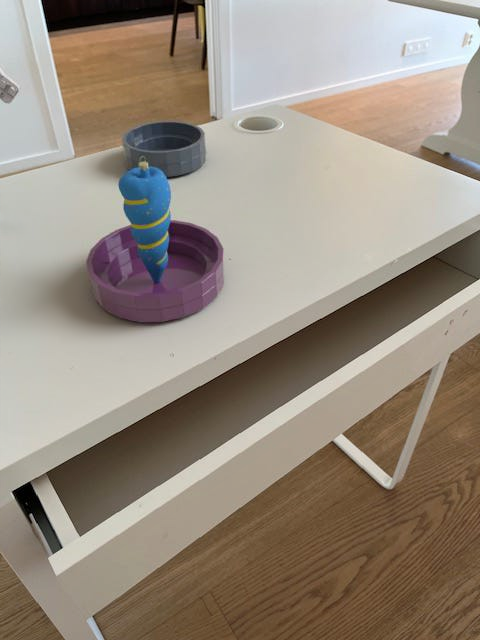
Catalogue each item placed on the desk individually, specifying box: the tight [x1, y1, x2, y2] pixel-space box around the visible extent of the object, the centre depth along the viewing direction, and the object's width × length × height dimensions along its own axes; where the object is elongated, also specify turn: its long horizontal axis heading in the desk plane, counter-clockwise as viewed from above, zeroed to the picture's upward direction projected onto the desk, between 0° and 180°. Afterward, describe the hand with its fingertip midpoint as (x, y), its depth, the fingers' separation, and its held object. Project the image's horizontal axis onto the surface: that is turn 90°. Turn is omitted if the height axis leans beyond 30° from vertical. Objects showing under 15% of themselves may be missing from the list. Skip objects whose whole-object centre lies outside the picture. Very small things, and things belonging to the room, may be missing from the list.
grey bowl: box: [121, 120, 207, 178], centre depth 84 cm, size 13×13×4 cm
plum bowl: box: [85, 219, 225, 323], centre depth 59 cm, size 15×15×4 cm
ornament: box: [118, 156, 172, 283], centre depth 55 cm, size 5×5×15 cm
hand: (2, 113), depth 47 cm, fingers open, 8 cm apart
